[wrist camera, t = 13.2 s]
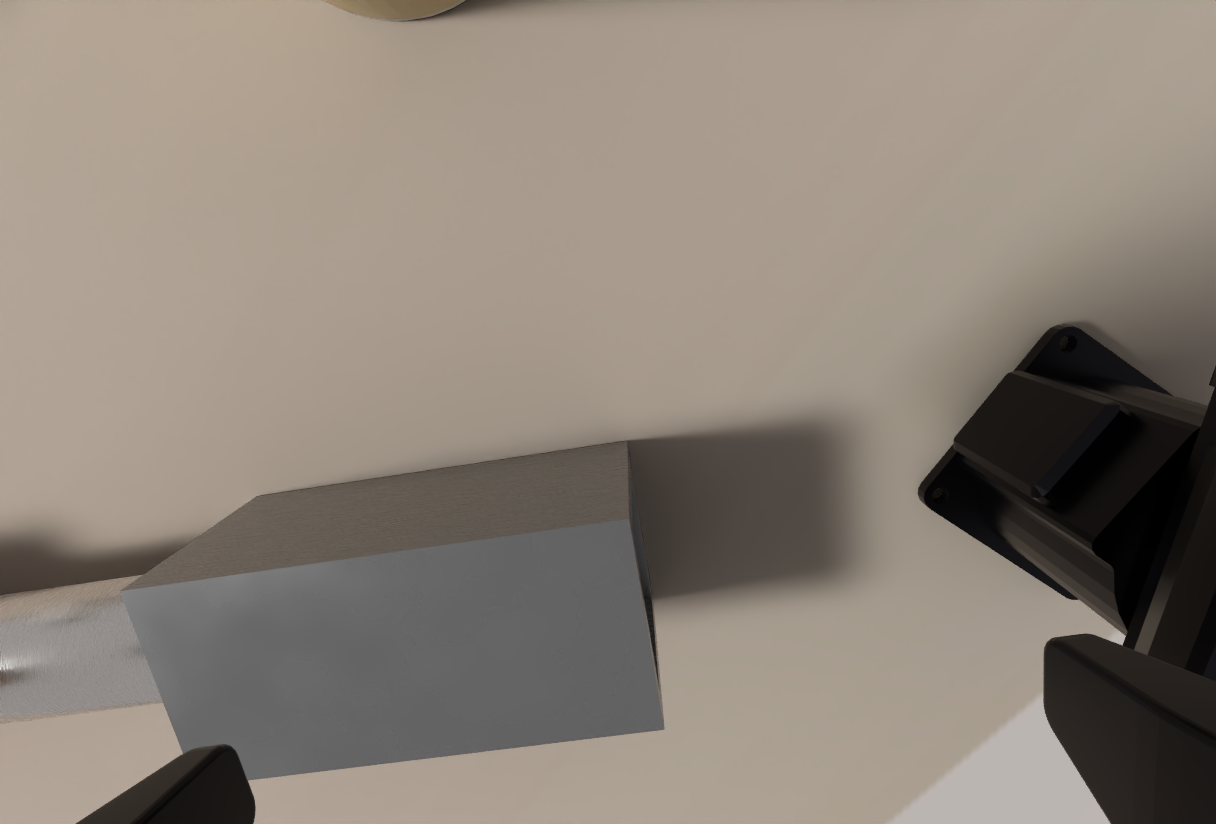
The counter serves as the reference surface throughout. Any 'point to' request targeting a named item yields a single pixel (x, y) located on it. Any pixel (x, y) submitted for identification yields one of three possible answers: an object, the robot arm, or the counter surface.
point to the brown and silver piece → (70, 653)
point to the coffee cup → (395, 8)
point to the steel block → (410, 617)
